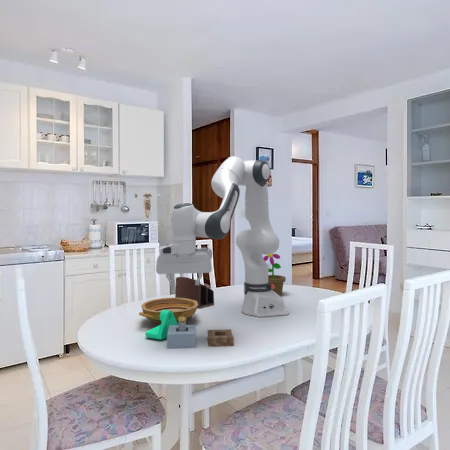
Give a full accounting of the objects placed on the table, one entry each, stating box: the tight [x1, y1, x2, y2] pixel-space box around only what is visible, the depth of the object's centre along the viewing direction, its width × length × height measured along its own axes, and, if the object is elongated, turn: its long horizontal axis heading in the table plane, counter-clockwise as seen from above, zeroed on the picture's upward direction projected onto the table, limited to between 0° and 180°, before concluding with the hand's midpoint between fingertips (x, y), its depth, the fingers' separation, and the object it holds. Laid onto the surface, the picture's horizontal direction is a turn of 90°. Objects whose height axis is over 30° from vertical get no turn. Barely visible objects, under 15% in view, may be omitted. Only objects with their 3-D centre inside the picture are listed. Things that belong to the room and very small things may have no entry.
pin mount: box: [207, 328, 235, 347], centre depth 136 cm, size 9×9×3 cm
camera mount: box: [144, 310, 178, 340], centre depth 143 cm, size 12×8×10 cm, turn 155°
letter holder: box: [174, 276, 215, 310], centre depth 191 cm, size 10×20×14 cm, turn 45°
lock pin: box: [178, 316, 187, 331], centre depth 135 cm, size 3×3×10 cm
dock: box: [166, 324, 197, 349], centre depth 135 cm, size 10×10×5 cm
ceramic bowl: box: [138, 297, 198, 326], centre depth 159 cm, size 30×24×8 cm
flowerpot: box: [263, 253, 286, 297], centre depth 209 cm, size 14×14×30 cm
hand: (184, 285), depth 135 cm, fingers open, 8 cm apart
